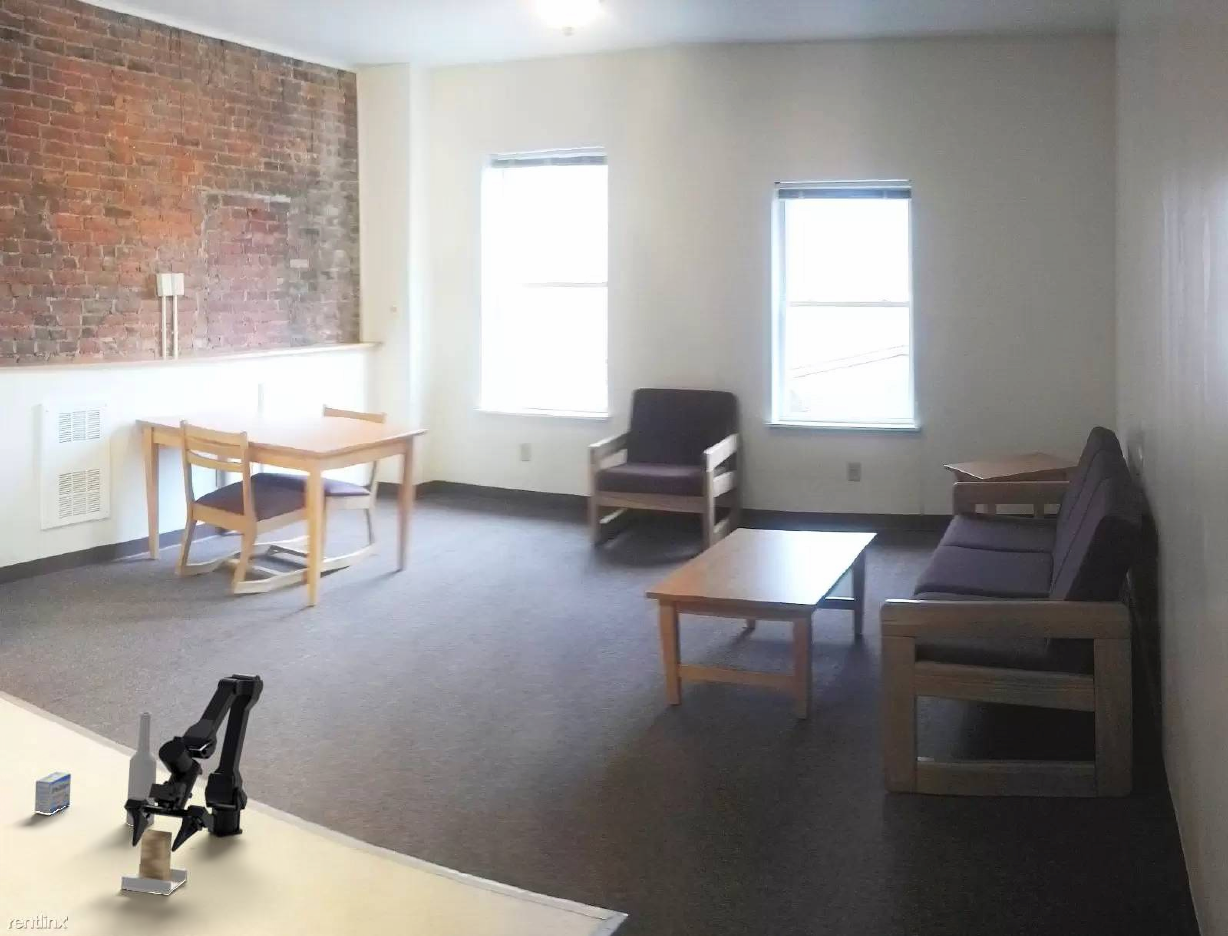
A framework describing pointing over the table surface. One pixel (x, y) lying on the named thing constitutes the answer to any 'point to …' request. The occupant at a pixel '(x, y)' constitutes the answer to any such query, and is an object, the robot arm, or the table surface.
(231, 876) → the table surface
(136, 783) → the bottle
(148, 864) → the wooden block
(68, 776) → the medicine box
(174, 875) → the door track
